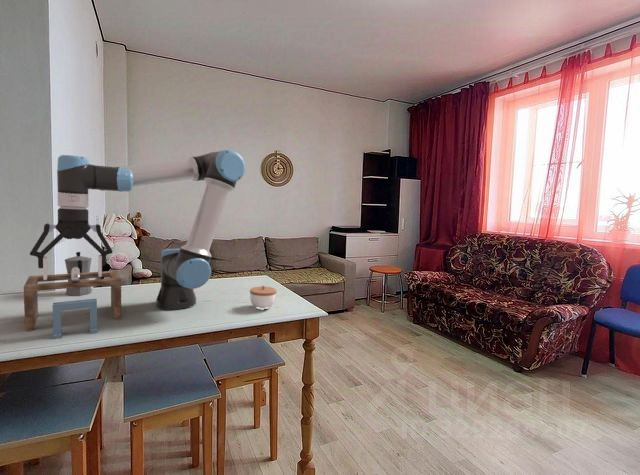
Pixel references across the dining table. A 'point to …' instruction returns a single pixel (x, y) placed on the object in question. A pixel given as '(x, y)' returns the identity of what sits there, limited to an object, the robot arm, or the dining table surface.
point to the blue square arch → (73, 306)
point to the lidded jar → (262, 296)
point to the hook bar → (75, 275)
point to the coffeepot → (84, 267)
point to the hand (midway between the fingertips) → (73, 277)
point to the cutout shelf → (33, 287)
